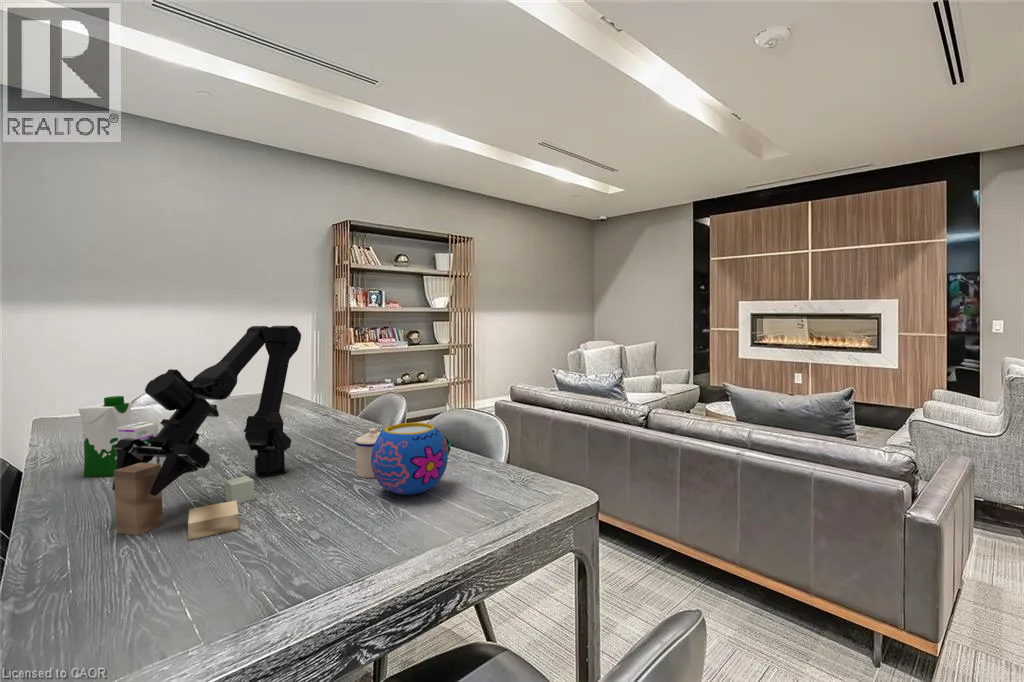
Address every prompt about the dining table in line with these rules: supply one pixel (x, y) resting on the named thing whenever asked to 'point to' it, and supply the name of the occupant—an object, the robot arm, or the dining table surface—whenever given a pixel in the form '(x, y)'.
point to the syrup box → (140, 434)
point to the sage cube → (239, 489)
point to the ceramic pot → (410, 457)
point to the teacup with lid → (365, 453)
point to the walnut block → (137, 499)
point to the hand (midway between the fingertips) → (133, 492)
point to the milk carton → (103, 434)
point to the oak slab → (213, 519)
